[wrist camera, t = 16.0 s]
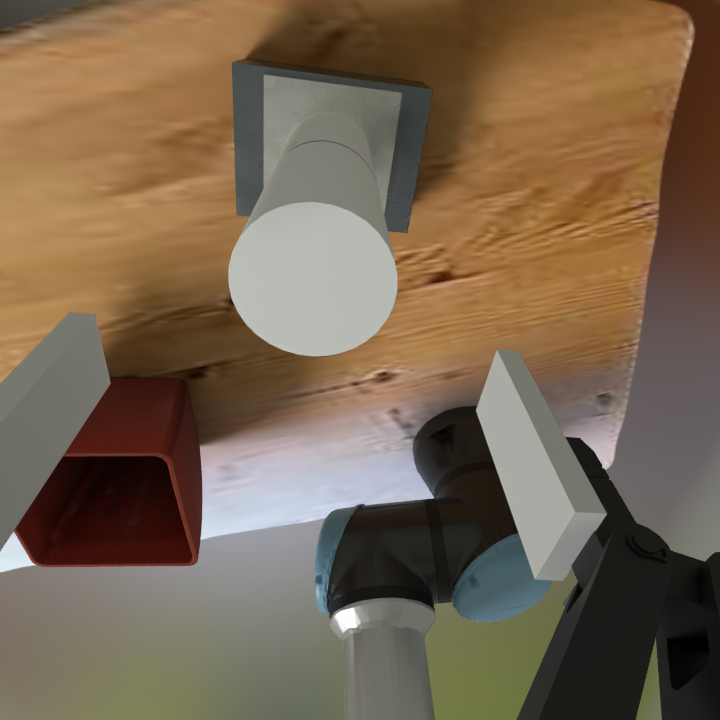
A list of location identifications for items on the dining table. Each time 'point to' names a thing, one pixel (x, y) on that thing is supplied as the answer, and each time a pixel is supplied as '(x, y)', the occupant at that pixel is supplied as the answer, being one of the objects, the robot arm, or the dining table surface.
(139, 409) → the plant pot
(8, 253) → the dining table surface
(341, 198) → the cylindrical container
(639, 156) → the dining table surface
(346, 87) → the grey rectangular block
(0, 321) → the dining table surface
